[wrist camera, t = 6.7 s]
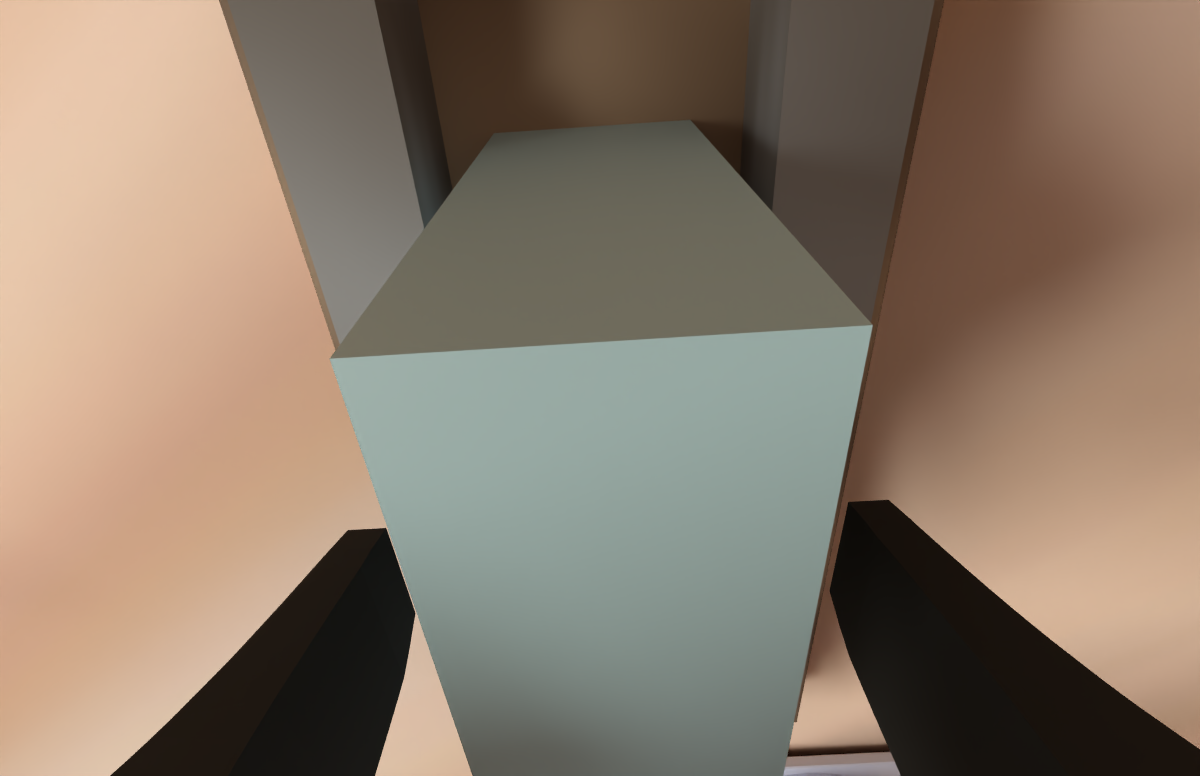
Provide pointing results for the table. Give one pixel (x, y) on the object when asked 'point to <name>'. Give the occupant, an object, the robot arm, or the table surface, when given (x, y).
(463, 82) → the door track
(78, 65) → the table surface
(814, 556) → the door panel
